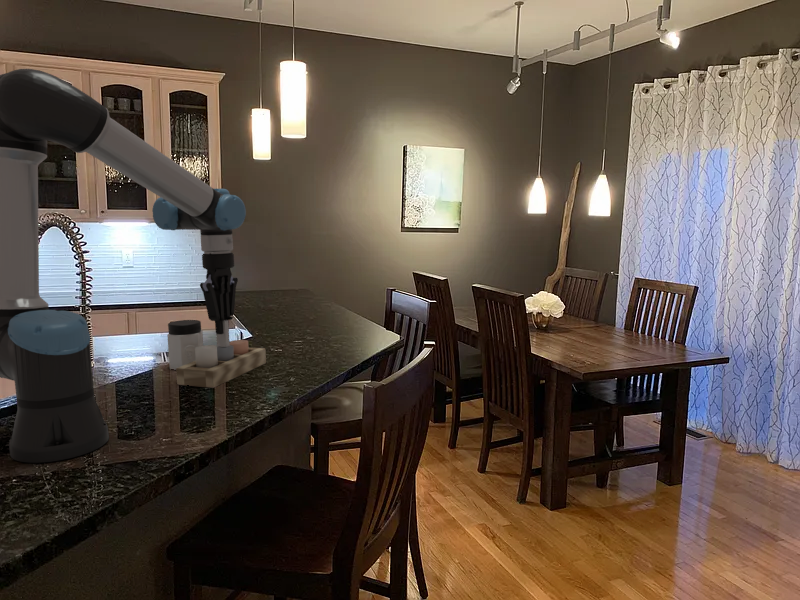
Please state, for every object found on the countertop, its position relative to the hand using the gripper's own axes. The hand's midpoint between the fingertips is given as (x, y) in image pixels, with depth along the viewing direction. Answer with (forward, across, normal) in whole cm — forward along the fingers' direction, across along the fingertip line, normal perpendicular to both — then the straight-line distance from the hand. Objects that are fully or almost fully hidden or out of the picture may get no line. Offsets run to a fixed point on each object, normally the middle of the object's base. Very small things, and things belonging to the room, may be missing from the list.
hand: (223, 345), depth 152 cm
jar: (+7, +3, +13) cm, 15 cm away
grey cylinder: (+5, 0, 0) cm, 5 cm away
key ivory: (+4, -7, 0) cm, 8 cm away
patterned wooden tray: (+7, 0, 0) cm, 7 cm away
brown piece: (+6, +7, 0) cm, 9 cm away
